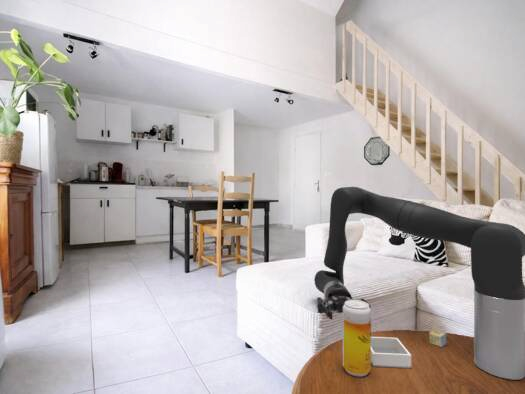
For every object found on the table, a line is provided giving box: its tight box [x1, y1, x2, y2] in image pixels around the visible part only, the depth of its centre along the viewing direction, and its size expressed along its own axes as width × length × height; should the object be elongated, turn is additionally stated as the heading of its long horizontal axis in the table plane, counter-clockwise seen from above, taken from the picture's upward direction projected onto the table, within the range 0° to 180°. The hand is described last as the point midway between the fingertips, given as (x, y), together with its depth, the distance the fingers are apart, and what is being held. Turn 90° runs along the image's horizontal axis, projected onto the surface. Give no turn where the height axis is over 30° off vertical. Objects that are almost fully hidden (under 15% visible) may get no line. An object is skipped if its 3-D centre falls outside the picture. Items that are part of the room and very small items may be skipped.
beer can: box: [341, 299, 372, 378], centre depth 67 cm, size 6×6×15 cm
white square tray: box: [371, 336, 412, 369], centre depth 73 cm, size 9×9×3 cm
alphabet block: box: [428, 329, 447, 348], centre depth 80 cm, size 3×3×3 cm
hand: (347, 316), depth 77 cm, fingers open, 8 cm apart
